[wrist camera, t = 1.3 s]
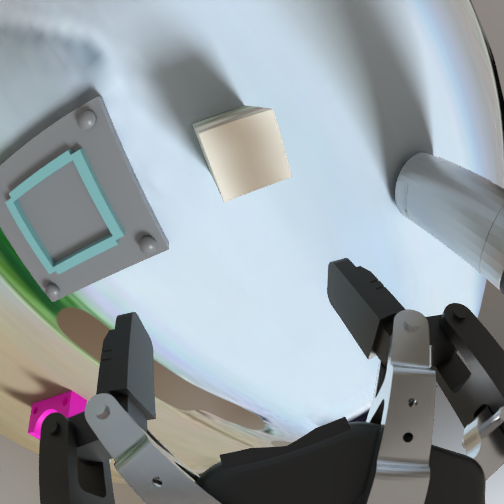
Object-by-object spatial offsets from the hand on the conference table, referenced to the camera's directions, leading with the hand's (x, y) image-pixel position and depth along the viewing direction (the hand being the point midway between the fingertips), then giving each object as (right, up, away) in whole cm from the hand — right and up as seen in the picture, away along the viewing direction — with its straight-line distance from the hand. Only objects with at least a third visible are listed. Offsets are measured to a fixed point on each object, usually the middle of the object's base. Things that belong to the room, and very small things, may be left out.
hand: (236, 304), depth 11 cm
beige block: (-2, +12, +13) cm, 18 cm away
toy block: (-36, -27, +27) cm, 53 cm away
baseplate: (-18, +6, +12) cm, 22 cm away
